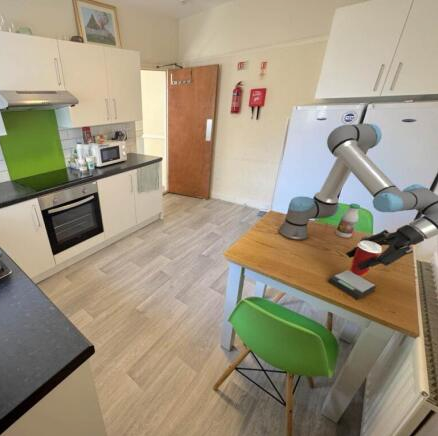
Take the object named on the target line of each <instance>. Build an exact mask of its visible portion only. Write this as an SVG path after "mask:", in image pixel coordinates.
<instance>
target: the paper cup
mask: <svg viewBox="0 0 438 436" xmlns="http://www.w3.org/2000/svg"><path fill="white" fill-rule="evenodd" d="M360 241H361V240H360ZM360 241H359V242H360ZM359 242H358V243H357V246H358V247H357V246H356V247H357V250H356V253H355V255H354V256H353V257H352V261H351V264H350V267H349V271H350V272H352V273H354V274H355V275H357V276H359V277H365V276H366V275H367V274H368V273H369V271H370V270H371V268H372V267H368V268H366V269H364V270H360V269H359V268H358V266H357V265H358V264H360V263H363V262H365V261H367V260H369V259H371V258H373V257H374V258H375V257H378V256H379V255H380V254H382V253H383V247H382V245H381V246H380V245H379V244H377V243H374V242H371V241H361V242H360V243H359ZM375 259H376V258H375Z"/></svg>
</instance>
